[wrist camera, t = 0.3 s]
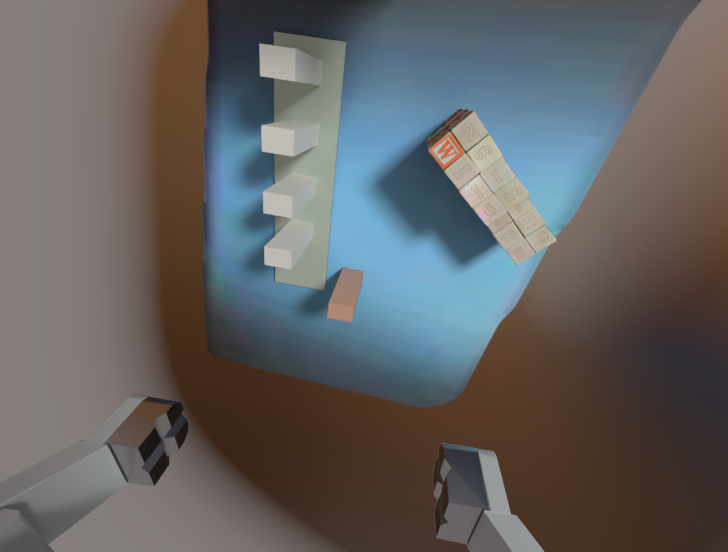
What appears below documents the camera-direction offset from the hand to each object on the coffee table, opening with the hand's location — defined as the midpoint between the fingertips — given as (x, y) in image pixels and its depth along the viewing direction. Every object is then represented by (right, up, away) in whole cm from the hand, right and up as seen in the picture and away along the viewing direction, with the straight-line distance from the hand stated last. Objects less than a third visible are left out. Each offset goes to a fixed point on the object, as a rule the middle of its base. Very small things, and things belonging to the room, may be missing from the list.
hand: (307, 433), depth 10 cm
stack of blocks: (+20, +20, +40) cm, 49 cm away
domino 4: (-9, +13, +47) cm, 50 cm away
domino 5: (0, +5, +51) cm, 51 cm away
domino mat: (-8, +20, +44) cm, 49 cm away
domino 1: (-6, +34, +35) cm, 49 cm away
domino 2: (-7, +27, +39) cm, 48 cm away
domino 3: (-8, +20, +43) cm, 48 cm away
